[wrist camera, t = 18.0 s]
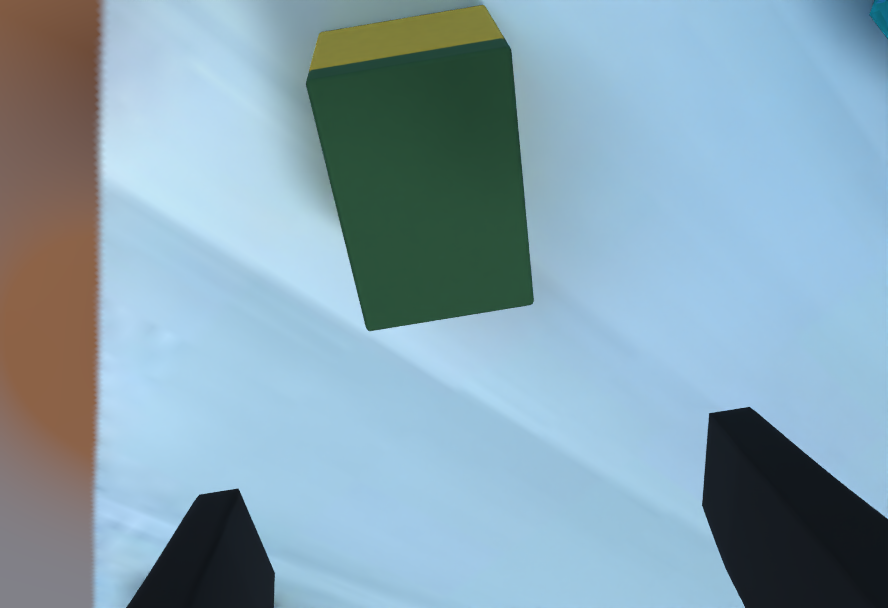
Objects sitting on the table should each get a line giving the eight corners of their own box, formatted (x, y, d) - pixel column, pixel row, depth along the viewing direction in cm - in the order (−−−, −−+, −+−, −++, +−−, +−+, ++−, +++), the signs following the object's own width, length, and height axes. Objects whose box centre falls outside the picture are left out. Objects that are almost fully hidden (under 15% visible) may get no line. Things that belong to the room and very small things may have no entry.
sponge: (485, 3, 17) (511, 46, 14) (508, 228, 21) (534, 306, 17) (317, 31, 17) (304, 81, 14) (368, 251, 21) (367, 333, 17)
